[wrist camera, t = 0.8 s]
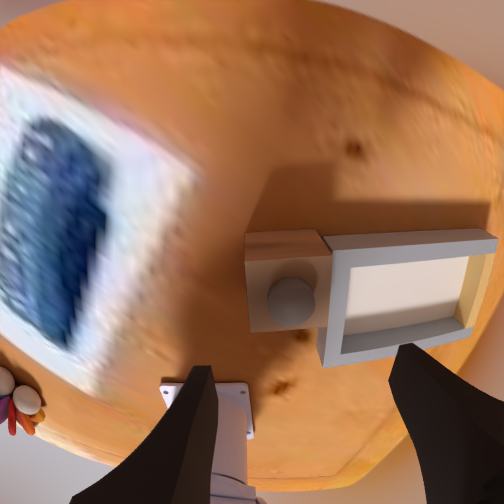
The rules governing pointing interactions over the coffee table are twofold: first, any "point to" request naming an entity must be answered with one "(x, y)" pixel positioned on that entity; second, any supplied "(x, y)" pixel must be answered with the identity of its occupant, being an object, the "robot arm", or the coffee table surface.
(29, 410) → the rainbow flower
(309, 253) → the block with grey knob
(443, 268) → the tray
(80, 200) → the coffee table surface
